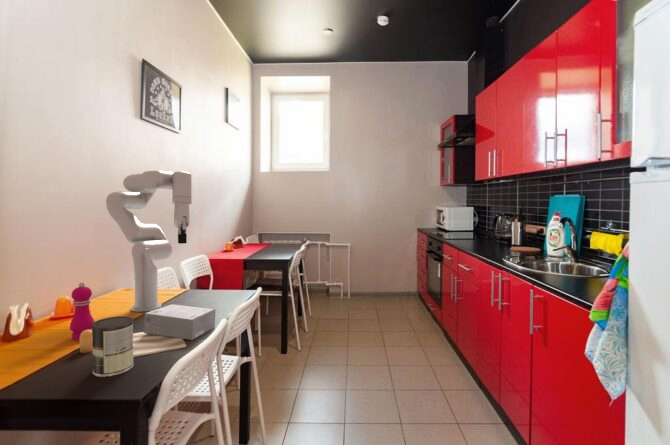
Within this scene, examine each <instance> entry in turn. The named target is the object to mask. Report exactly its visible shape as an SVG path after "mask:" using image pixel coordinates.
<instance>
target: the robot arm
mask: <svg viewBox="0 0 670 445" xmlns="http://www.w3.org/2000/svg"><path fill="white" fill-rule="evenodd" d="M122 185H123V187H124V188H125V190H126V191H113V192H110V193H109V194H108V195H107V197H106V199H105V205H106V209H107V211H108V214H109V215H110V216H111V219H112V220H114V221H115V222H116V224H117V225H118V226H119V229H120V230H121V232H122V233H123V235H124V237H125V239H126V240H127V242H128V243H130V244H132V247H131V256H132V261H133V270H134V274H133V275H134V305H131V307H130V311H132V312H136V313H140V312H141V313H143V312H144V313H147V312H150V311H153V310H156V309H159V308H162V303H160V302H159V300H158V298H159V296H158V295H159V293H158V292H159V289H158V287H159V286H158V284H159V283H158V268H157V266H156V265H155V263H154V261H160V260H165V259H168V258H170V257H171V256H172V253H173V247H172V244H171V243H170V242H171V241H170V240H169V239H168V238H167V236H166V234H165V232H164V231H163V230H162V228H161V227H160V226H159V225H158V224H156V223H142V222H141V221H140V220H139V218H138V217H137V216H136V214H134V213H133V212H131V211H130V210H143V209H145V208H146V207H147V206H148V205H149V203H150V202H151V200H152V198H153V197H154V195H155V194H156V192H157V190H158V189H162V190H165V189H166V190H172V191H171V192H172V199H171V200H172V205H174V208H173V227H176V228H177V244H179V245H180V244H188V243H187V239H188V237H187V234H188V233H187V228H188V227H189V226H190V205H192V200H193V199H192V194H193V193H192V174H191V173H190V172H188V171H178V170H177V171H174V172H173V171H165V170H147V171H146V170H145V171H143V172H142V173H135V174H130V175H127V176H126V177H124V179H123V184H122Z"/></svg>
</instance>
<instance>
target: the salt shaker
mask: <svg viewBox="0 0 670 445" xmlns="http://www.w3.org/2000/svg"><path fill="white" fill-rule="evenodd" d="M79 352H80V353H81V354H85V353H90V352H93V345H92V329H91V330H90V329H87V330H84V331H83V332H82V333H81V335H80V340H79Z"/></svg>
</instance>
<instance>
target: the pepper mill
mask: <svg viewBox="0 0 670 445" xmlns="http://www.w3.org/2000/svg"><path fill="white" fill-rule="evenodd" d="M92 295H93V291H92V289H91V288H90V287H88V286H86V284H85V283H84V282H80V283H78V287H75V288H74V289H73V290H72V292H71V298H72V300H74V301H73V304H72V305H73V306H74V314H73V317H72V318H71V321H70V324H69V330H71V331H72V333H71V340H73V341H80V335H81V333H82V332H83V331H84V330H87V329H90V330H92V323H94V322H95V320H94V318H93V316H92V314H91V313H90V304H91V299H90V298H91V297H92Z"/></svg>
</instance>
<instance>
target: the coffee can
mask: <svg viewBox="0 0 670 445" xmlns="http://www.w3.org/2000/svg"><path fill="white" fill-rule="evenodd" d="M133 326H134V318H133V317H132V316H128V315H127V316H125V315H124V316H123V315H119V316H111V317H110V316H109V317H106V318H101V319H98V320H96V321H94V323H92V329H91V330H92V345H93V351H92V375H94V376H95V377H100V378H104V377H105V378H107V376H108V377H113V375H114V376H119V375H121V374H123V373H126V372H128V371H130V370H131V369H132V368H133V367H134V357H133V333H134V327H133Z"/></svg>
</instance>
